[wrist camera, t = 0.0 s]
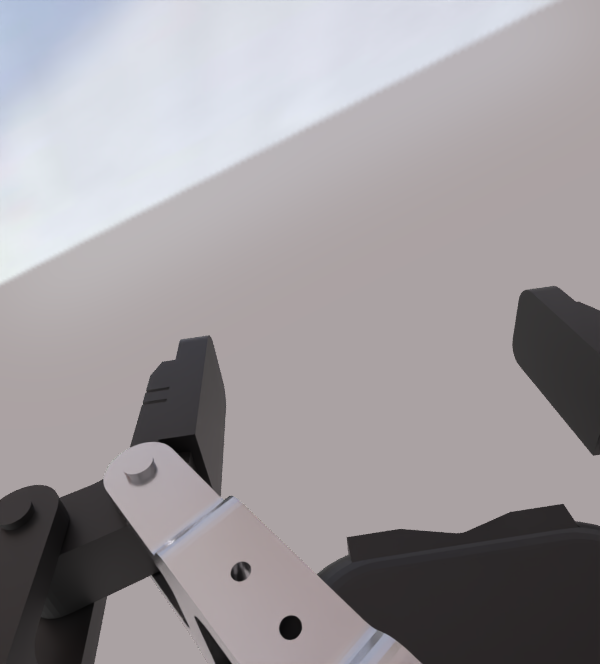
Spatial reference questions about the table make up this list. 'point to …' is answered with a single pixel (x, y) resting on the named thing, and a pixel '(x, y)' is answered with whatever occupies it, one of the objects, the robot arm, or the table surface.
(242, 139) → the table surface
